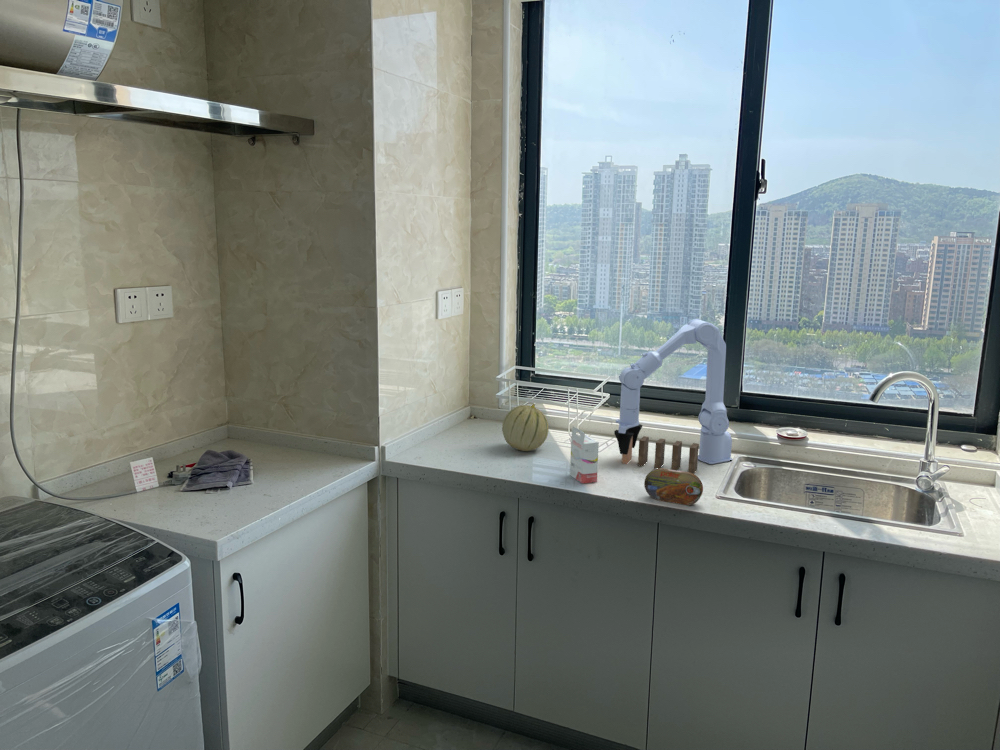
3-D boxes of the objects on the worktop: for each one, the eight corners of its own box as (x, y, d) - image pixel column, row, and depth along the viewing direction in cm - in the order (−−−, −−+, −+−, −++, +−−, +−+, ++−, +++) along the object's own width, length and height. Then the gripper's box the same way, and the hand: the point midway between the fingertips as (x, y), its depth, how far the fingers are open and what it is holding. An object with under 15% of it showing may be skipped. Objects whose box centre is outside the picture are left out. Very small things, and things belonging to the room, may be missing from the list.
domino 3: (663, 464, 223) (665, 439, 221) (659, 469, 218) (661, 443, 217) (658, 463, 224) (660, 438, 222) (654, 468, 219) (655, 442, 218)
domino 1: (631, 459, 227) (632, 434, 226) (626, 464, 223) (628, 438, 221) (626, 458, 228) (627, 433, 226) (621, 463, 223) (623, 437, 222)
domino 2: (647, 462, 225) (648, 436, 223) (643, 466, 221) (644, 440, 219) (642, 461, 226) (643, 436, 224) (637, 465, 221) (639, 440, 220)
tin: (643, 497, 195) (644, 467, 193) (646, 494, 198) (648, 464, 196) (700, 508, 188) (702, 476, 186) (703, 504, 191) (705, 473, 189)
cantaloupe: (492, 450, 235) (493, 404, 232) (521, 440, 245) (522, 397, 242) (528, 460, 225) (529, 412, 222) (557, 449, 236) (558, 404, 233)
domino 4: (680, 467, 221) (682, 441, 219) (676, 471, 216) (678, 445, 215) (675, 466, 221) (676, 440, 220) (671, 470, 217) (672, 444, 215)
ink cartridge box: (598, 482, 206) (600, 431, 203) (582, 484, 204) (584, 433, 201) (584, 473, 214) (586, 424, 211) (568, 474, 212) (570, 425, 209)
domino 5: (697, 469, 218) (698, 443, 217) (693, 474, 214) (695, 448, 213) (691, 468, 219) (693, 443, 218) (687, 473, 215) (689, 447, 213)
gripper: (623, 401, 230) (621, 442, 233) (609, 410, 217) (607, 454, 220) (646, 403, 227) (643, 446, 230) (632, 413, 214) (630, 458, 217)
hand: (627, 450), depth 225 cm, fingers open, 7 cm apart
